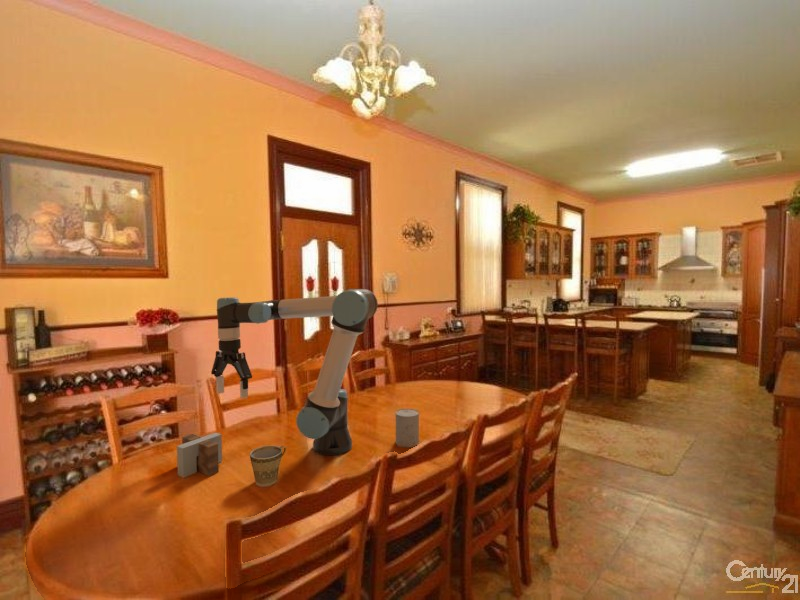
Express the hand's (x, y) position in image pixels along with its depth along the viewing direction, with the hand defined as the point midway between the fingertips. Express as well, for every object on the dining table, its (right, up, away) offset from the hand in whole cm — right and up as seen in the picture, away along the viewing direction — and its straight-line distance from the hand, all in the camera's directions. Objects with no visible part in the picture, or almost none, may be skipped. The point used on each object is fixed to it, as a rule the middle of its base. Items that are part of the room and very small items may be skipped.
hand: (232, 395), depth 150 cm
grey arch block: (-7, -23, -10) cm, 26 cm away
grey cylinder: (+66, -22, +12) cm, 70 cm away
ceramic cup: (+20, -24, -18) cm, 36 cm away
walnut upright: (-7, -23, -10) cm, 26 cm away
